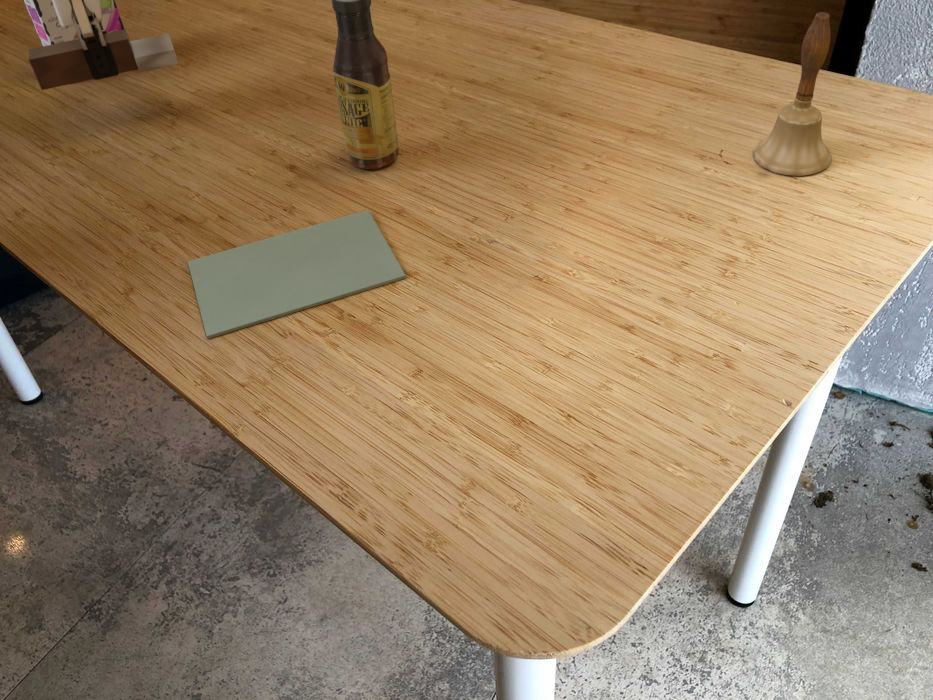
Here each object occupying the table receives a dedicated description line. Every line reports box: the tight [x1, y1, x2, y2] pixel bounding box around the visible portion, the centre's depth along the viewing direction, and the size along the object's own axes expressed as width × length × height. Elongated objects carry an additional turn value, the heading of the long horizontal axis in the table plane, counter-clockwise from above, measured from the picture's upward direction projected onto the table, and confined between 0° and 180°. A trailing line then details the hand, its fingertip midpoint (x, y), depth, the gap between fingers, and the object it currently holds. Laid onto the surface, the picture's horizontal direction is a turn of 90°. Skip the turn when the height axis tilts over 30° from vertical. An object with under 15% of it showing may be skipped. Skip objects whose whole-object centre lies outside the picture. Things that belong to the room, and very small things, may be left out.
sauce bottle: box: [331, 0, 399, 171], centre depth 95 cm, size 7×6×20 cm
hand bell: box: [752, 11, 833, 177], centre depth 90 cm, size 8×8×16 cm
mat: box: [187, 209, 407, 340], centre depth 87 cm, size 20×13×1 cm, turn 112°
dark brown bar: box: [28, 29, 179, 91], centre depth 109 cm, size 17×6×4 cm, turn 112°
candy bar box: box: [23, 0, 126, 47], centre depth 123 cm, size 11×5×16 cm, turn 134°
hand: (105, 68), depth 110 cm, fingers closed on dark brown bar, 3 cm apart
